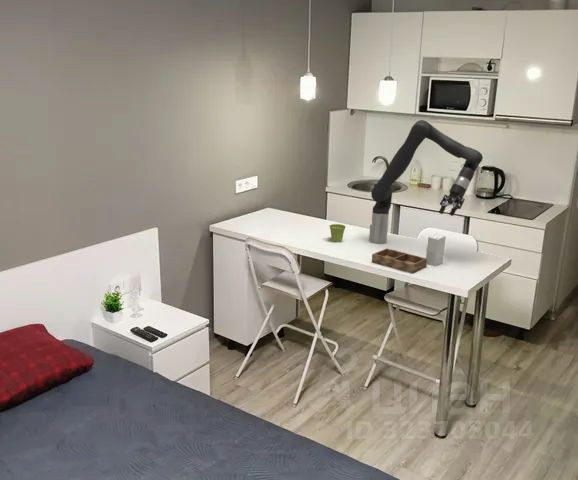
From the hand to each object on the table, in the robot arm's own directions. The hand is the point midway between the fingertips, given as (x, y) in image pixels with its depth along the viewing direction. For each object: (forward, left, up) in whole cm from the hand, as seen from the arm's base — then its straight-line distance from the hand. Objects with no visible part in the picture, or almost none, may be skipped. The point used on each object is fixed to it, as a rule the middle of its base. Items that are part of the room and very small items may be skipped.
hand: (445, 214), depth 314 cm
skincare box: (0, -6, -25) cm, 26 cm away
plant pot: (-60, -10, -25) cm, 66 cm away
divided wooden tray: (-12, -21, -25) cm, 35 cm away
